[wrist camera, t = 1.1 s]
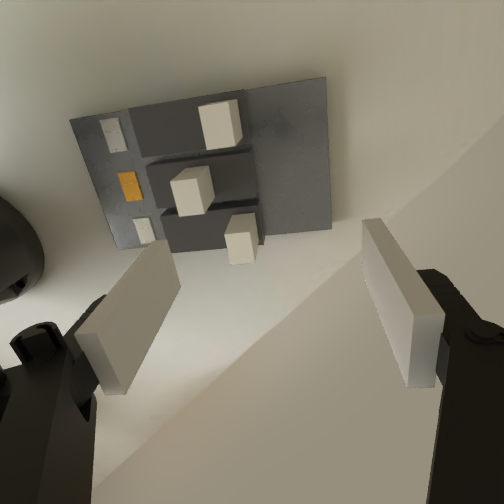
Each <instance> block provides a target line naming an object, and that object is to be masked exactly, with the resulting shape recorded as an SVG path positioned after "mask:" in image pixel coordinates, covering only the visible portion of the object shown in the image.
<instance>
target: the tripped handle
mask: <svg viewBox="0 0 504 504" xmlns="http://www.w3.org/2000/svg"><path fill="white" fill-rule="evenodd" d="M170 184H171V188H172V192H173V195H174V199H175V203H176V207H177V210H178V214H179V217H182V216H191V215H200V214H205V212H206V211H207V209H208V208H209V206H210V204H211V203H212V201H213V200H214V198H215V194H214V189H213V184H212V179H211V174H210V170H209V165H206V166H199V167H191V168H185V169H184V170H183V171H182V172H181V173H179V174H178V175H177V176H176V177H175V178H174V179H172V180H171V181H170Z"/></svg>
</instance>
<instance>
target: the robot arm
mask: <svg viewBox="0 0 504 504" xmlns="http://www.w3.org/2000/svg"><path fill="white" fill-rule="evenodd" d="M43 268H44V256H43V251H42V247H41V244H40V242H39V239H38V237H37V235H36V234H35V232H34V230H33V229H32V227H31V226H30V224H29V223H28V222H27V221H26V219H25V218H24V217H23V216H22V215H21V214H20V213H19V212H18V211H17V210H16V209H15V208H14V207H12V206H11V205H10V204H9V203H7V202H6V201H5V200H3V199H2V198H0V305H1V304H3V303H6V302H9V301H12V300H14V299H16V298H18V297H20V296H21V295H23V294H24V293H25V292H27V291H28V290H29V289H30V288H32V287H33V286H34V285H35V284H36V283H37V282H38V281H39V279H40V277H41V275H42V272H43ZM362 274H363V276H364V279H365V282H366V284H367V287H368V289H369V292H370V294H371V297H372V299H373V302H374V305H375V307H376V309H377V312H378V315H379V317H380V320H381V322H382V325H383V328H384V330H385V333H386V335H387V338H388V340H389V343H390V346H391V348H392V351H393V353H394V356H395V358H396V361H397V363H398V366H399V369H400V371H401V374H402V376H403V379H404V381H405V384H406V386H407V388H426V387H427V388H430V387H435V379H436V374H437V376H438V377H439V379H440V381H441V383H442V385H443V390H442V396H441V403H440V409H439V417H438V425H437V431H436V438H435V445H434V452H433V458H432V465H431V472H430V480H429V486H428V493H427V500H426V504H504V328H502V327H500V326H498V325H497V324H495V323H491V322H488V321H485V320H482V319H481V318H480V317H479V315H478V314H477V313H476V312H475V310H474V309H473V308H472V307H471V305H469V303H468V302H467V301H466V300H465V298H464V297H463V296H462V295H460V292H459V291H458V290H457V288H456V287H454V285H453V283H452V282H451V281H450V280H449V279H448V278H447V276H445V275H444V274H442V273H440V272H439V271H437V270H435V269H426V270H415V268H414V267H413V265H412V264H411V262H410V261H409V259H408V258H407V256H406V255H405V254H404V252H403V251H402V249H401V248H400V246H399V245H398V243H397V242H396V240H395V239H394V237H393V236H392V234H391V233H390V231H389V230H388V228H387V227H386V226H385V224H384V223H383V221H382V220H381V218H375V219H365V220H362ZM180 288H181V285H180V282H179V278H178V275H177V272H176V268H175V265H174V261H173V258H172V255H171V251H170V248H169V245H168V241H167V240H157V241H152V242H151V243H150V244H149V245H148V247H147V248H146V249H145V250H144V251H143V252H142V254H141V255H140V256H139V257H138V258H137V260H136V261H135V262H134V263H133V264H132V266H131V267H130V268H129V269H128V270H127V272H126V273H125V274H124V275H123V276H122V278H121V279H120V280H119V281H118V282H117V283H116V285H115V286H114V287H113V288H112V289H111V291H110V292H109V293H108V294H107V295H103V296H101V297H100V298H99V299H97V300H96V301H94V302H93V303H92V304H91V305H90V306H89V308H88V309H87V310H86V311H85V313H83V314H82V316H81V317H80V318H79V320H77V321H76V322H75V324H74V325H73V326H72V327H71V328H70V329H69V330H68V332H67V333H66V334H65V335H64V336H62V334H61V332H60V330H59V329H58V327H57V325H56V324H55V323H53V322H43V323H38V324H35V325H33V326H31V327H28V328H27V329H25V330H23V331H21V332H20V333H19V334H18V335H16V336H15V337H14V338H13V339H12V341H11V342H10V343H9V344H10V345H11V347H12V348H13V350H14V351H15V353H16V355H17V356H18V358H19V359H20V361H21V362H22V365H18V366H15V367H11V368H8V369H4V370H3V369H2V367H1V366H0V504H91V491H92V475H93V459H94V443H95V427H96V410H97V401H96V397H95V395H94V393H93V392H94V391H95V389H96V387H97V386H98V384H100V386H101V388H102V390H103V392H104V394H105V395H126V393H127V391H128V389H129V387H130V385H131V383H132V381H133V379H134V377H135V375H136V373H137V371H138V369H139V368H140V366H141V364H142V362H143V360H144V358H145V356H146V354H147V352H148V350H149V348H150V346H151V344H152V342H153V340H154V338H155V336H156V334H157V333H158V331H159V329H160V327H161V325H162V323H163V321H164V319H165V317H166V315H167V313H168V311H169V309H170V307H171V305H172V303H173V301H174V299H175V297H176V296H177V294H178V292H179V290H180Z"/></svg>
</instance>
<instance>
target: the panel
mask: <svg viewBox="0 0 504 504" xmlns="http://www.w3.org/2000/svg"><path fill="white" fill-rule="evenodd" d="M244 95H245V102H246V109H247V115H248V122H249V129H250V136H251V140H250V142H249V143H245V144H238V145H236V146H232V147H225V148H218V149H211V150H207V149H202V150H195V151H188V152H181V153H174V154H167V155H160V156H153V157H146V158H142V156H141V152H140V149H139V146H138V142H137V139H136V135H135V132H134V129H133V125H132V122H131V119H130V115H129V112H128V110H124V111H118V112H112V113H106V114H100V115H94V116H88V117H82V118H76V119H70V120H69V121H70V123H71V126H72V129H73V131H74V134H75V137H76V139H77V142H78V145H79V147H80V150H81V153H82V155H83V158H84V161H85V163H86V166H87V168H88V171H89V174H90V176H91V179H92V182H93V184H94V187H95V190H96V192H97V195H98V198H99V200H100V203H101V206H102V208H103V211H104V214H105V216H106V219H107V221H108V224H109V227H110V229H111V232H112V235H113V237H114V240H115V243H116V245H117V248H118V250H119V249H129V248H140V247H148V245H149V244H150V243H151V242H152V241H157V240H166V236H165V233H164V230H163V226H162V223H161V220H160V215H161V214H162V213H163V212H164V211H165V210H166V209H175V208H177V207H170V208H161V209H157V206H156V203H155V199H154V196H153V193H152V189H151V186H150V183H149V179H148V176H147V172H146V169H145V166H147V165H148V164H150V163H152V162H156V161H163V160H170V159H177V158H184V157H192V156H199V155H206V154H213V153H221V152H228V151H235V150H242V149H249V148H252V150H253V157H254V164H255V171H256V178H257V185H258V195H257V198H249V199H240V200H231V201H222V202H214V203H211V204H219V203H227V202H236V201H245V200H254V199H260V206H261V213H262V219H263V226H264V233H265V235H276V234H286V233H296V232H307V231H317V230H328V229H332V220H331V195H330V171H329V147H328V122H327V98H326V77H322V78H316V79H310V80H304V81H298V82H292V83H286V84H280V85H274V86H268V87H262V88H256V89H250V90H244Z"/></svg>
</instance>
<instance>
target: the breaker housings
mask: <svg viewBox="0 0 504 504" xmlns="http://www.w3.org/2000/svg"><path fill="white" fill-rule="evenodd" d="M128 112H129V115H130V119H131V122H132V125H133V129H134V132H135V135H136V139H137V142H138V146H139V149H140V152H141V156H142V158H146V157H153V156H160V155H167V154H174V153H181V152H188V151H195V150H202V149H207V150H211V149H218V148H225V147H232V146H236V145H238V144H245V143H249V142H250V140H251V136H250V129H249V122H248V115H247V109H246V102H245V95H244V89H243V90H237V91H231V92H225V93H219V94H213V95H207V96H201V97H195V98H189V99H183V100H177V101H171V102H165V103H159V104H153V105H147V106H141V107H135V108H130V109H128ZM206 165H209V170H210V174H211V179H212V184H213V189H214V194H215V198H214V200H213V201H212V203H214V202H222V201H231V200H240V199H249V198H257V195H258V185H257V178H256V171H255V164H254V157H253V150H252V148H249V149H242V150H235V151H228V152H221V153H213V154H206V155H199V156H192V157H184V158H177V159H170V160H163V161H156V162H152V163H150V164H148V165H147V166H145V169H146V172H147V176H148V179H149V183H150V186H151V189H152V193H153V196H154V199H155V203H156V206H157V209H161V208H170V207H176V203H175V199H174V195H173V192H172V188H171V184H170V181H171V180H172V179H174V178H175V177H176V176H177V175H178V174H179V173H181V172H182V171H183V170H184V169H185V168H191V167H199V166H206ZM160 220H161V223H162V226H163V230H164V233H165V236H166V240H167V241H168V245H169V248H170V251H171V253H179V252H189V251H200V250H211V249H222V248H227V250H228V255H229V260H230V265H235V264H247V263H255V259H256V254H257V248H258V245H264V239H265V233H264V226H263V219H262V213H261V206H260V199H254V200H245V201H236V202H227V203H219V204H210V206H209V208H208V209H207V211H206V212H205V214H200V215H191V216H182V217H179V214H178V210H177V208H175V209H166V210H165V211H164V212H163V213H162V214H161V215H160Z"/></svg>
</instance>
